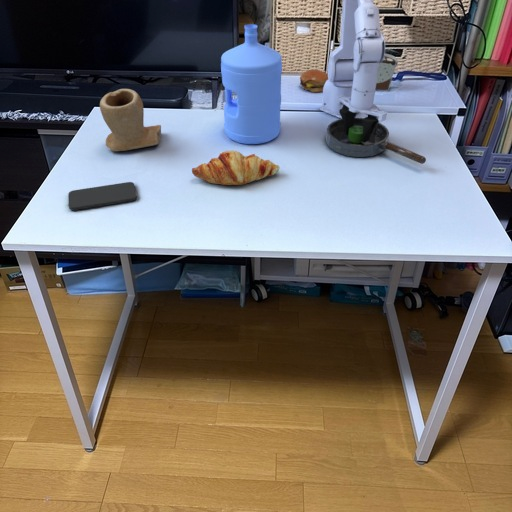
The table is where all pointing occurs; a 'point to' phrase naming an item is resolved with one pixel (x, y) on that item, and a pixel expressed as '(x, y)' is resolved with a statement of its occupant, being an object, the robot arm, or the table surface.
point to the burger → (313, 80)
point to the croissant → (235, 169)
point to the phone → (101, 195)
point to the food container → (386, 72)
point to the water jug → (252, 90)
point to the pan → (346, 147)
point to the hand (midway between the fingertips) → (357, 137)
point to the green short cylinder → (355, 134)
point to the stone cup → (127, 121)
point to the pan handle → (403, 152)
